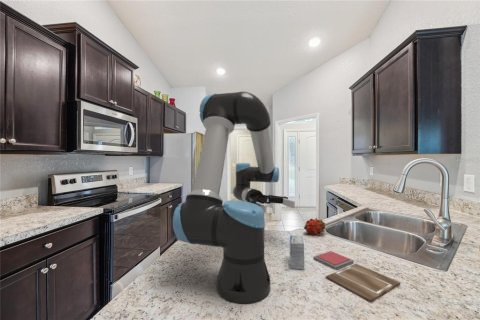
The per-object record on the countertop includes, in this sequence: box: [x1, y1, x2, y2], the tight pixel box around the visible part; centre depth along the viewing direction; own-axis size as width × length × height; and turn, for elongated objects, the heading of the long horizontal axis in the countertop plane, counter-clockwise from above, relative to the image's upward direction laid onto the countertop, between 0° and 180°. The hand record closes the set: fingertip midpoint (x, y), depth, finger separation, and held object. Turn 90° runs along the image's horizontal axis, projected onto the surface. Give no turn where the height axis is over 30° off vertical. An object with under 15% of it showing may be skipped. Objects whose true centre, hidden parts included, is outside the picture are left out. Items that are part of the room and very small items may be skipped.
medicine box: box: [289, 235, 305, 271], centre depth 72 cm, size 8×4×9 cm, turn 168°
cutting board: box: [325, 263, 401, 303], centre depth 62 cm, size 16×13×1 cm
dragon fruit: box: [303, 217, 326, 237], centre depth 104 cm, size 8×8×12 cm
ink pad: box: [312, 250, 354, 271], centre depth 75 cm, size 10×9×1 cm
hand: (280, 206), depth 80 cm, fingers open, 13 cm apart
